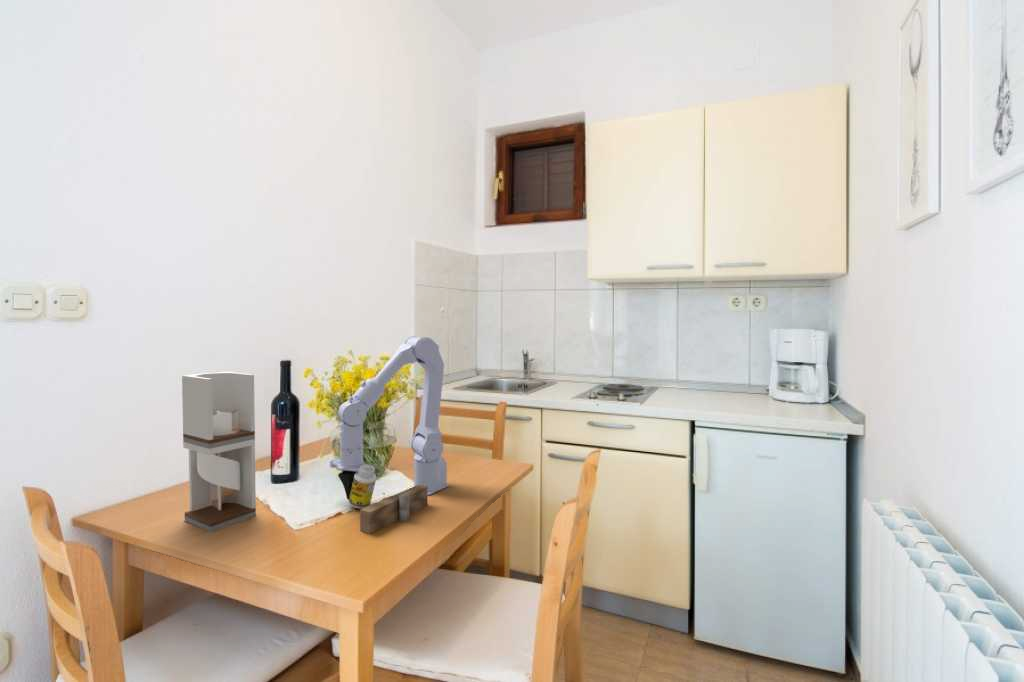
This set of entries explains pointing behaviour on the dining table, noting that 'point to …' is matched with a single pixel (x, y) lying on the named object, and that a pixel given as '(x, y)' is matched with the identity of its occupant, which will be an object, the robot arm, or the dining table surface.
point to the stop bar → (393, 509)
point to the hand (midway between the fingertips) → (351, 498)
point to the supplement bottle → (362, 487)
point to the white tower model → (219, 448)
